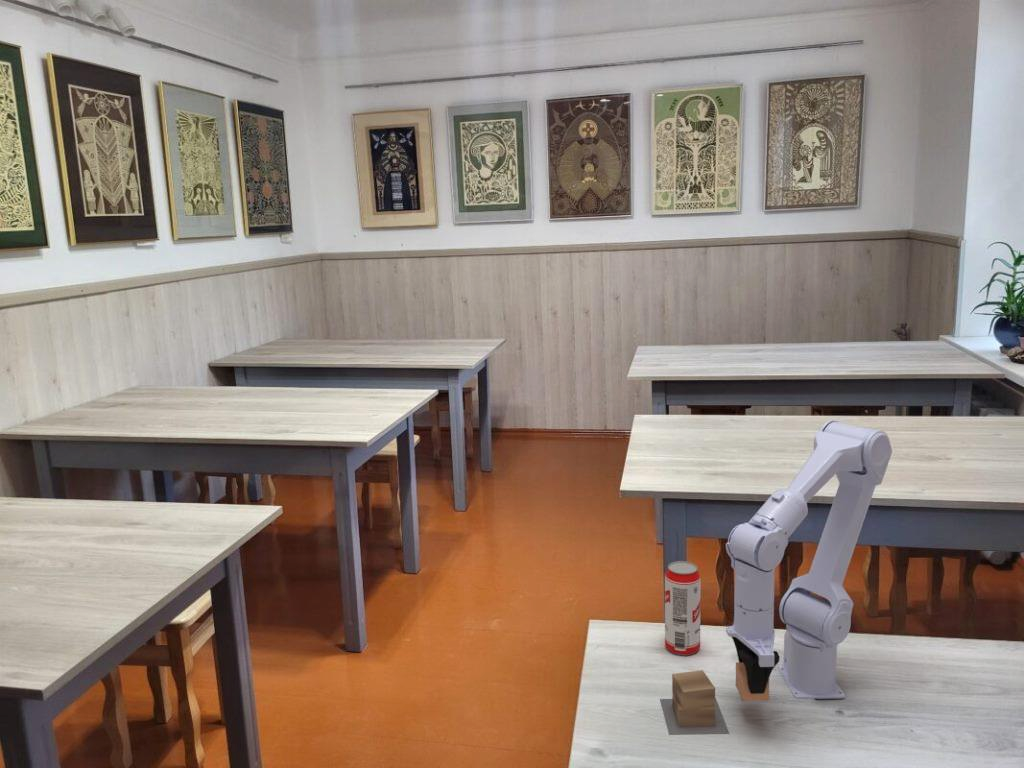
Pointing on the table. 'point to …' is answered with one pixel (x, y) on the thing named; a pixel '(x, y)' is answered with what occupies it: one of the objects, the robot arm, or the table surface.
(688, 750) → the table surface
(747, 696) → the cube
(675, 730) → the mat
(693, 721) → the slab bottom
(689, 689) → the slab top
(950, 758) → the table surface
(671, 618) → the beer can
